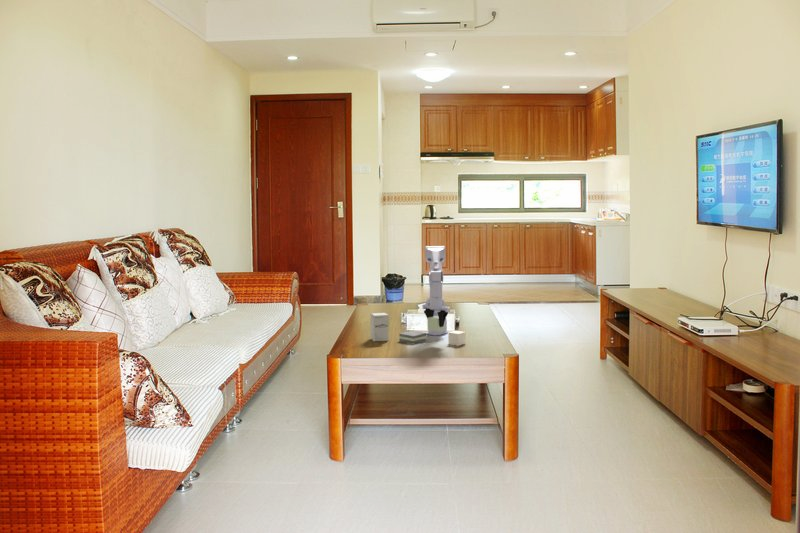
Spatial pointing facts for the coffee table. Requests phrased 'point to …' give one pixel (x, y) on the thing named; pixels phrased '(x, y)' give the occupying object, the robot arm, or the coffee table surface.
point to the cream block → (456, 338)
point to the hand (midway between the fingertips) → (436, 325)
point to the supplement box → (379, 327)
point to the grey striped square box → (412, 337)
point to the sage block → (434, 324)
